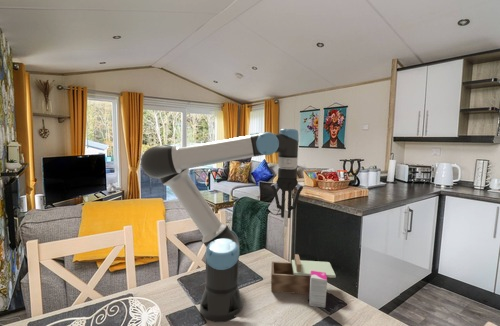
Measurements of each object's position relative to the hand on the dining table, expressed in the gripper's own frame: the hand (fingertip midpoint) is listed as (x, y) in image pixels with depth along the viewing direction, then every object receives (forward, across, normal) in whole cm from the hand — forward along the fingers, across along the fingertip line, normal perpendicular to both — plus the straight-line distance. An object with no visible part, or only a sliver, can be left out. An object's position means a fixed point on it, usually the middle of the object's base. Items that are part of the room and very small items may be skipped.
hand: (285, 225), depth 105 cm
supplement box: (+26, +12, -10) cm, 31 cm away
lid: (+18, +12, 0) cm, 21 cm away
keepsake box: (+26, +3, 0) cm, 26 cm away
